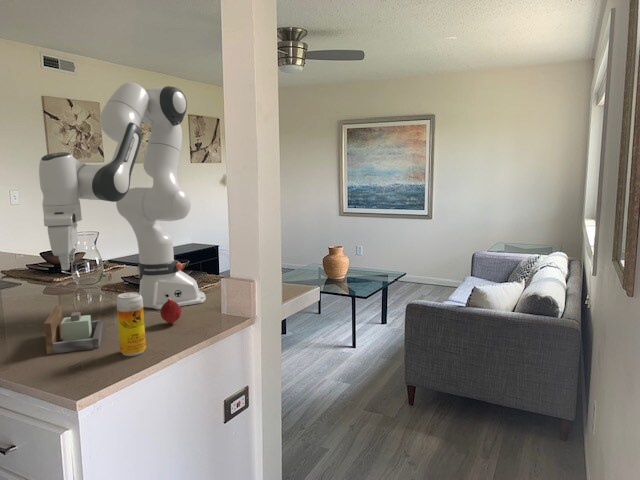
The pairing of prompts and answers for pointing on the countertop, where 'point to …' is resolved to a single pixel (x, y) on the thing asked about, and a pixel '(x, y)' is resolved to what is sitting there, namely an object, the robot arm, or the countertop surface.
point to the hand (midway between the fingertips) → (68, 265)
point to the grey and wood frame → (55, 334)
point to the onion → (170, 311)
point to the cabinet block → (76, 327)
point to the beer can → (131, 323)
